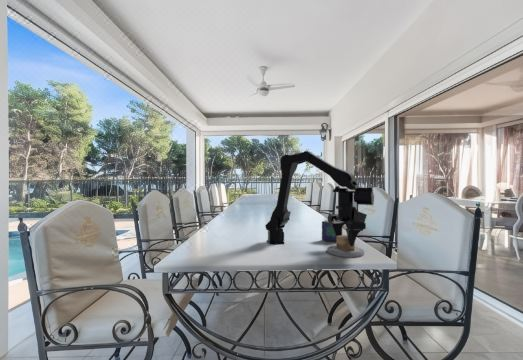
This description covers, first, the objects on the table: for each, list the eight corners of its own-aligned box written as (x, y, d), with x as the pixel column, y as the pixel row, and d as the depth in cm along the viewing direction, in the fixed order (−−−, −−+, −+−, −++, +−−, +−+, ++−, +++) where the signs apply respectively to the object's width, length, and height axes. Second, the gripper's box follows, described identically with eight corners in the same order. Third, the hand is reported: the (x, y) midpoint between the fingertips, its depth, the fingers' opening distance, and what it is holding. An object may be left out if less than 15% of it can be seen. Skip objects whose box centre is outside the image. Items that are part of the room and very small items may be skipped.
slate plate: (338, 258, 104) (338, 255, 103) (321, 248, 117) (321, 246, 117) (371, 255, 107) (371, 252, 107) (351, 246, 121) (351, 243, 121)
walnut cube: (343, 251, 109) (343, 238, 109) (336, 248, 114) (336, 235, 114) (354, 250, 110) (354, 237, 110) (347, 247, 115) (347, 235, 115)
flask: (342, 240, 131) (342, 217, 130) (342, 242, 128) (342, 218, 127) (322, 239, 133) (321, 217, 133) (321, 241, 130) (321, 218, 130)
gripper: (378, 205, 105) (378, 247, 105) (350, 200, 123) (350, 236, 123) (351, 206, 102) (351, 250, 102) (327, 201, 120) (326, 238, 120)
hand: (345, 243), depth 112 cm, fingers open, 9 cm apart
